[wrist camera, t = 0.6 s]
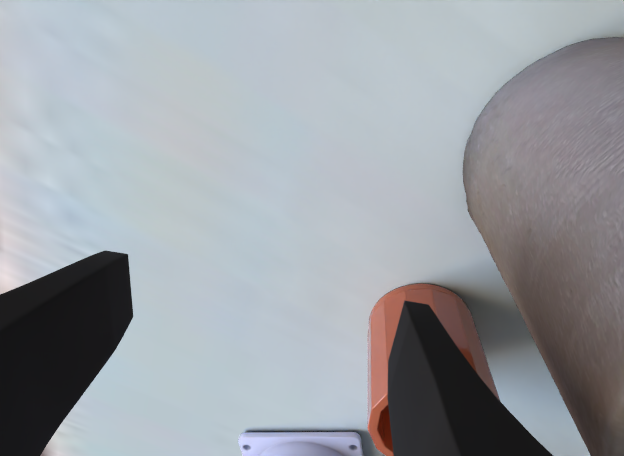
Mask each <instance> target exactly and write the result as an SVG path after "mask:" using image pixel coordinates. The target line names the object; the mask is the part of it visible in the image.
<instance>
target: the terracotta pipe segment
mask: <svg viewBox="0 0 624 456" xmlns="http://www.w3.org/2000/svg"><path fill="white" fill-rule="evenodd" d="M404 300H405V301H411V302H417V303H423V304H429V306H430V307H431V309H432V310H433V311H434V313H435V314H436V316H437V317H438V319H439V320H440V322H441V323H442V325H443V326H444V328H445V329H446V331H447V332H448V334H449V335H450V337H451V338H452V340H453V341H454V343H455V344H456V345H457V347H458V348H459V350H460V351H461V353H462V354H463V355H464V357H465V358H466V359H467V361H468V362H469V363H470V365H471V366H472V367H473V369H474V370H475V371H476V373H477V374H478V375H479V377H480V378H481V379H482V380H483V381H484V383H485V384H486V385H487V386H488V387H489V389H490V390H491V391H492V392H493V394H494V395H495V396H496V397H497V398H498V400H499V401H500V399H499V396H498V393H497V390H496V387H495V384H494V381H493V378H492V375H491V372H490V369H489V366H488V363H487V360H486V357H485V354H484V351H483V348H482V345H481V342H480V339H479V336H478V333H477V330H476V327H475V324H474V321H473V318H472V315H471V312H470V310H469V308H468V307H467V305H466V304H465V302H464V301H463V300H462V299H461V298H460V297H459V296H458V295H456V294H455V293H453V292H452V291H450V290H448V289H446V288H443V287H440V286H436V285H432V284H411V285H406V286H402V287H399V288H397V289H394V290H392V291H390V292H389V293H387V294H386V295H384V296H383V297H382V298H381V299H380V300H379V301H378V302H377V303H376V305H375V306H374V308H373V310H372V312H371V314H370V317H369V329H368V431H369V433H370V435H371V437H372V440H373V442H374V444H375V446H376V448H377V449H378V450H379V451H380V452H382V453H383V454H384V455H386V456H394V454H393V445H392V436H391V427H390V417H389V408H388V360H389V356H390V352H391V348H392V345H393V341H394V337H395V334H396V330H397V326H398V322H399V319H400V315H401V311H402V308H403V304H404Z"/></svg>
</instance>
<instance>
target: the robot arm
mask: <svg viewBox="0 0 624 456" xmlns="http://www.w3.org/2000/svg"><path fill="white" fill-rule="evenodd" d="M132 318H133V309H132V297H131V286H130V274H129V262H128V254H123V253H117V252H111V251H103V252H100V253H97V254H94V255H92V256H89V257H87V258H85V259H82V260H80V261H78V262H75V263H73V264H71V265H69V266H66V267H64V268H62V269H60V270H57V271H55V272H53V273H51V274H48V275H46V276H44V277H41V278H39V279H37V280H35V281H32V282H30V283H28V284H25V285H23V286H21V287H18V288H16V289H13V290H11V291H8V292H6V293H3V294H1V295H0V456H40V455H41V453H42V452H43V450H44V448H45V447H46V445H47V444H48V442H49V440H50V439H51V437H52V436H53V435H54V433H55V432H56V430H57V429H58V427H59V426H60V424H61V423H62V422H63V420H64V419H65V417H66V416H67V415H68V413H69V412H70V411H71V409H72V408H73V407H74V405H75V404H76V403H77V401H78V400H79V399H80V397H81V396H82V395H83V393H84V392H85V391H86V389H87V388H88V387H89V385H90V384H91V382H92V381H93V380H94V378H95V377H96V376H97V374H98V373H99V372H100V370H101V369H102V367H103V366H104V365H105V363H106V362H107V361H108V359H109V358H110V356H111V355H112V354H113V352H114V351H115V349H116V348H117V346H118V344H119V342H120V341H121V339H122V337H123V335H124V333H125V331H126V330H127V328H128V326H129V324H130V322H131V320H132ZM388 408H389V417H390V427H391V436H392V445H393V454H394V456H553V455H552V454H551V453H550V452H549V451H547V450H546V449H545V448H544V447H543V446H542V445H541V444H540V443H539V442H538V441H537V440H536V439H535V438H534V437H533V436H532V435H531V434H530V433H529V432H528V431H527V430H526V429H525V428H524V427H523V425H522V424H521V423H520V422H519V421H518V420H517V419H516V418H515V417H514V416H513V415H512V414H511V413H510V412H509V411H508V410H507V409H506V407H505V406H504V405H503V404H502V403H501V402H500V401H499V400H498V398H497V397H496V396H495V395H494V394H493V392H492V391H491V390H490V389H489V387H488V386H487V385H486V384H485V383H484V381H483V380H482V379H481V378H480V377H479V375H478V374H477V373H476V371H475V370H474V369H473V367H472V366H471V365H470V363H469V362H468V361H467V359H466V358H465V357H464V355H463V354H462V353H461V351H460V350H459V348H458V347H457V345H456V344H455V343H454V341H453V340H452V338H451V337H450V335H449V334H448V332H447V331H446V329H445V328H444V326H443V325H442V323H441V322H440V320H439V319H438V317H437V316H436V314H435V313H434V311H433V310H432V309H431V307H430V306H429V304H423V303H417V302H411V301H405V300H404V304H403V308H402V311H401V315H400V319H399V322H398V326H397V330H396V334H395V337H394V341H393V345H392V348H391V352H390V356H389V360H388ZM238 442H239V445H240V449H241V452H242V455H243V456H363V450H362V443H361V437H360V435H359V434H358V433H355V432H245V433H241V434H240V436H239V439H238Z"/></svg>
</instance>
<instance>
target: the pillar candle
mask: <svg viewBox="0 0 624 456" xmlns="http://www.w3.org/2000/svg"><path fill="white" fill-rule="evenodd" d="M463 182H464V187H465V192H466V197H467V200H466V202H467V205H468V212H469V214H470V216H471V218H472V220H473V221H474V223H475V225H476V226H477V228H478V230H479V232H480V233H481V235H482V237H483V239H484V241H485V243H486V245H487V247H488V249H489V251H490V254H491V256H492V258H493V259H494V262H495V263H496V266H497V267H498V270H499V271H500V273H501V276H502V278H503V280H504V282H505V284H506V285H507V287H508V289H509V291H510V293H511V295H512V297H513V299H514V301H515V303H516V305H517V307H518V309H519V311H520V313H521V315H522V316H523V319H524V321H525V323H526V325H527V327H528V329H529V332H530V334H531V336H532V338H533V339H534V341H535V343H536V345H537V347H538V349H539V351H540V353H541V355H542V357H543V359H544V361H545V363H546V365H547V367H548V370H549V372H550V374H551V376H552V378H553V380H554V382H555V384H556V385H557V387H558V390H559V392H560V394H561V396H562V398H563V400H564V402H565V404H566V406H567V408H568V410H569V412H570V414H571V416H572V418H573V420H574V422H575V424H576V426H577V429H578V431H579V433H580V435H581V437H582V439H583V441H584V442H585V444H586V446H587V449H588V451H589V453H590V455H591V456H624V38H619V37H613V38H600V39H590V40H586V41H582V42H579V43H575V44H572V45H569V46H566V47H564V48H562V49H560V50H558V51H556V52H554V53H552V54H550V55H548V56H546V57H544V58H542V59H539V60H538V61H536V62H534V63H533V64H531V65H530V66H528V67H527V68H525V69H524V70H523V71H521V72H520V73H519V74H517V75H516V76H515V77H513V78H512V79H511V80H510V81H508V82H507V83H506V84H505V85H504V86H503V87H502V88H501V89H500V90H499V91H497V92H496V93H495V95H494V96H493V97H492V98H491V100H490V101H489V103H488V104H487V105H486V106H485V108H484V109H483V111H482V112H481V114H480V115H479V117H478V118H477V119H476V122H475V124H474V127H473V130H472V133H471V135H470V137H469V139H468V141H467V144H466V148H465V153H464V161H463Z"/></svg>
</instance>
